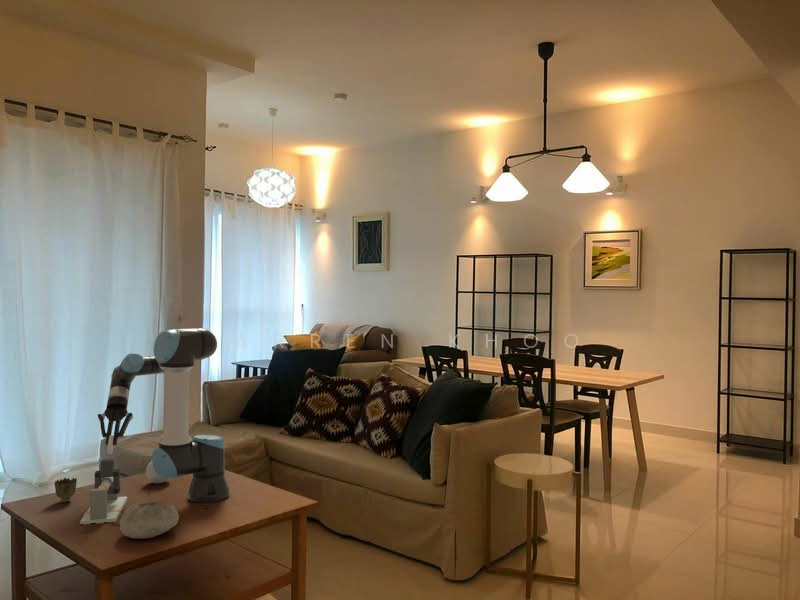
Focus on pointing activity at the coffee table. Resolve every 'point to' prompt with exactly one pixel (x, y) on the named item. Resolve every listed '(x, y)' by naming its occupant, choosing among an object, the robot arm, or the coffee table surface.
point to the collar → (108, 471)
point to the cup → (65, 489)
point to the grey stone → (148, 519)
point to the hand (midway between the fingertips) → (109, 452)
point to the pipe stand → (103, 504)
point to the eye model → (153, 474)
